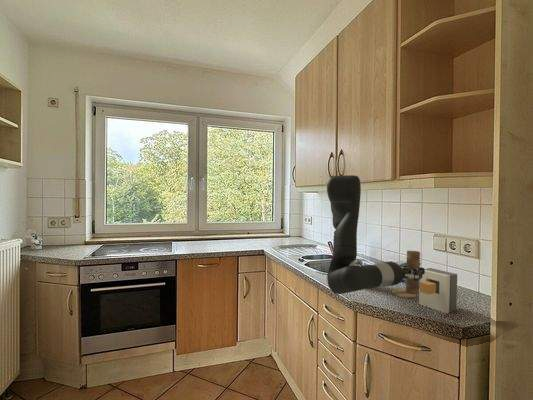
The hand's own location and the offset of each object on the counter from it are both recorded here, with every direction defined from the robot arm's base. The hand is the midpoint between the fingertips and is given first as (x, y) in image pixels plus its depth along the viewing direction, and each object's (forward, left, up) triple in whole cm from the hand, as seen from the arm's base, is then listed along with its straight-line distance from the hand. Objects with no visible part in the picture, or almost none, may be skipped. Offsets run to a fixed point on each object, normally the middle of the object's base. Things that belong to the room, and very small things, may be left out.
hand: (416, 269), depth 104 cm
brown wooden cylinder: (0, -2, -8) cm, 8 cm away
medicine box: (-30, +32, -16) cm, 47 cm away
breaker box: (0, +12, -15) cm, 20 cm away
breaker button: (0, +7, -9) cm, 11 cm away
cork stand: (-15, +14, -15) cm, 26 cm away
